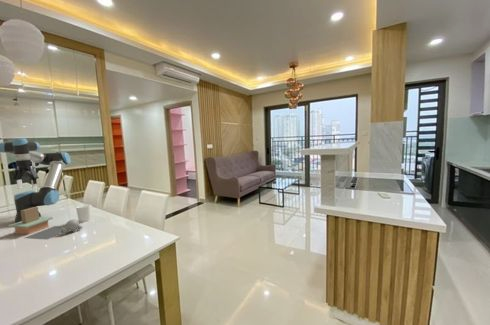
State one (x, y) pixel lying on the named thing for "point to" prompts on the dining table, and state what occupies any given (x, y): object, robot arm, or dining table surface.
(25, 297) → the dining table surface
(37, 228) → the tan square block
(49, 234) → the mat
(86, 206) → the candle holder
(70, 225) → the round bodied animal figurine
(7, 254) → the dining table surface
